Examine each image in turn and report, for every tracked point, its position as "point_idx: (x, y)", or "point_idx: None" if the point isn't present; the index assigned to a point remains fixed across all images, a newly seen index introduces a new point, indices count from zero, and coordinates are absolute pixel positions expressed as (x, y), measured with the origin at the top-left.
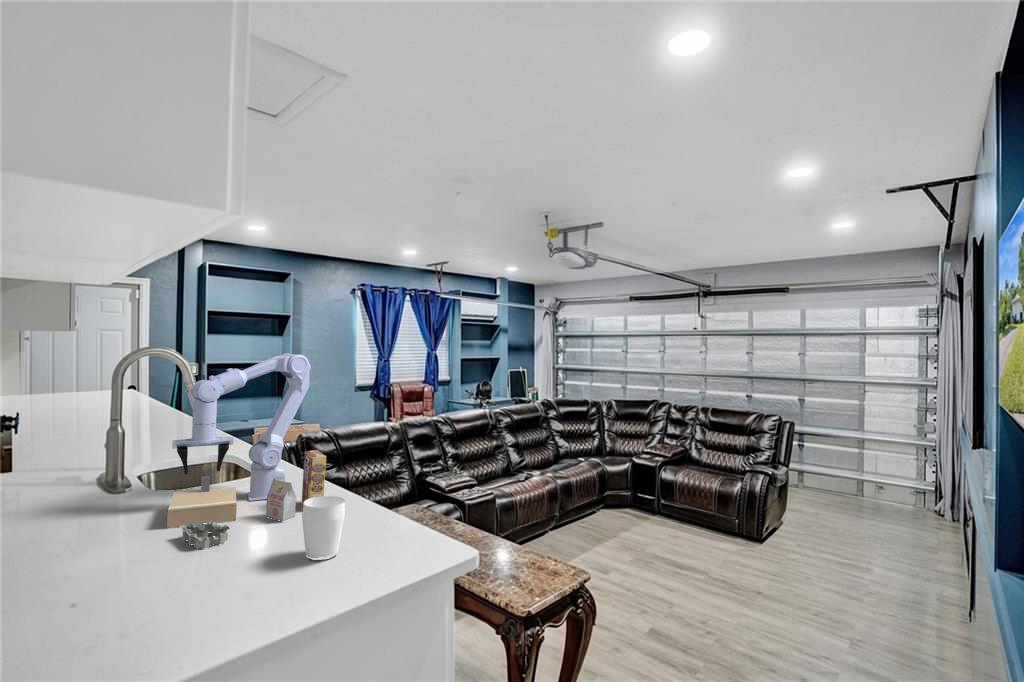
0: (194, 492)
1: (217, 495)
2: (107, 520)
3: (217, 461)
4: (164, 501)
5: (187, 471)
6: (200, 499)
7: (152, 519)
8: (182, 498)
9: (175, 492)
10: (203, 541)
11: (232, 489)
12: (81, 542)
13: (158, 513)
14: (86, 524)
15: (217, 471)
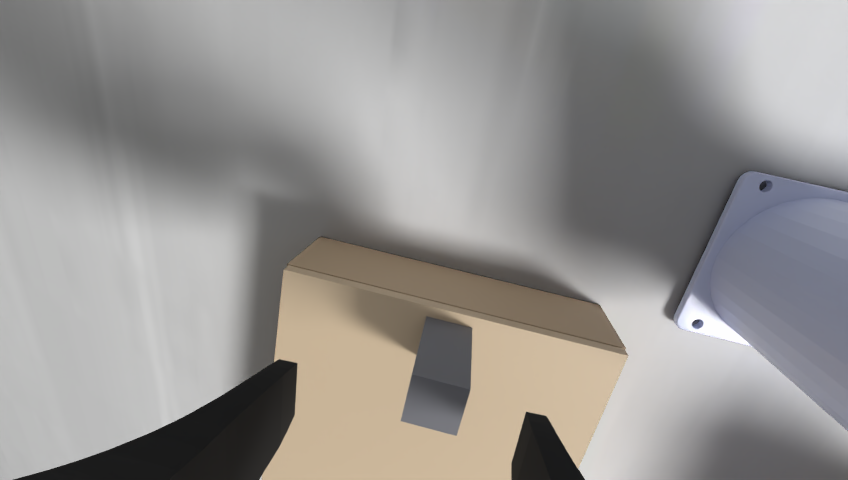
0: (385, 336)
1: (480, 458)
2: (90, 245)
3: (543, 474)
4: (289, 53)
5: (282, 437)
6: (392, 472)
7: (245, 332)
8: (318, 410)
9: (291, 276)
10: None
11: (590, 398)
12: (73, 429)
13: (264, 264)
14: (32, 253)
15: (514, 464)
